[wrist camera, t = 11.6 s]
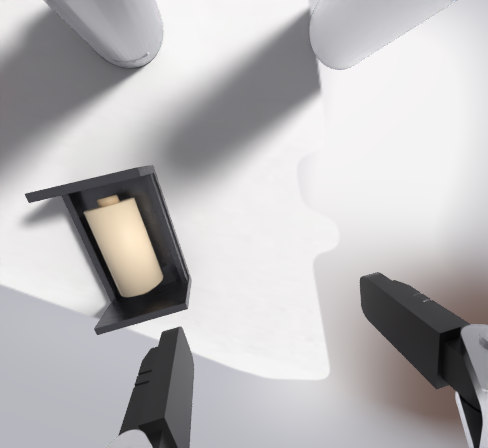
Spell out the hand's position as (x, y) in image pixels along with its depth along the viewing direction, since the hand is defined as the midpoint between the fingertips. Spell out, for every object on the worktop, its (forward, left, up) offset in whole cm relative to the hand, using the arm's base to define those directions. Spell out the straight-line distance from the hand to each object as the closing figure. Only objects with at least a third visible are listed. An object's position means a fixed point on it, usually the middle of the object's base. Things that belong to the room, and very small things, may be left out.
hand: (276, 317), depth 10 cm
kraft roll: (+2, -15, -27) cm, 30 cm away
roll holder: (+2, -15, -27) cm, 31 cm away
